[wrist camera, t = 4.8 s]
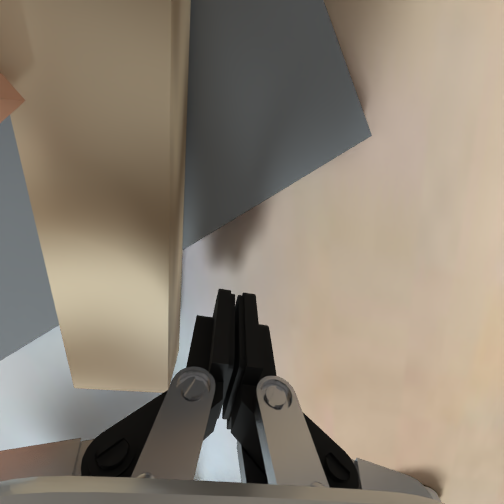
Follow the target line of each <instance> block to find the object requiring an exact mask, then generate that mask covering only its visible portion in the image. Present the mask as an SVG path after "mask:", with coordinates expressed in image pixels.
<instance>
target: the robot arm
mask: <svg viewBox="0 0 504 504" xmlns="http://www.w3.org/2000/svg"><path fill="white" fill-rule="evenodd" d="M222 405H223V413H222V418H223V419H227V429H231V433H232V434H233V436H234V437H235V438H236V439H237V452H238V460H239V468H240V475H241V483H235V482H215V481H194V480H193V479H194V475H195V471H196V466H197V462H198V458H199V454H200V450H201V446H202V442H203V440H204V439H206V438H207V437H208V436H209V435H210V434H211V433H212V432H213V431H214V428H215V424H216V421H217V419H218V418H219V415H220V412H221V408H222ZM0 504H445V503H442V502H439V501H436V500H434V499H433V498H432V496H431V494H430V493H429V492H428V490H427V489H426V488H425V487H424V486H423V485H422V484H421V483H420V482H419V481H418V480H416V479H414V478H413V477H411V476H408V475H406V474H403V473H400V472H397V471H394V470H391V469H388V468H385V467H383V466H380V465H377V464H374V463H371V462H368V461H365V460H362V459H359V458H356V460H353V459H351V458H350V457H349V456H348V455H347V454H346V452H345V451H344V450H343V449H342V448H340V447H339V446H338V445H337V444H336V443H335V442H334V441H333V440H332V439H331V438H330V437H329V436H328V435H327V434H325V433H324V432H323V431H322V430H321V429H320V428H319V427H318V426H317V425H316V424H315V423H314V422H313V421H312V420H310V419H309V418H308V417H307V416H306V415H305V414H304V413H303V412H302V409H301V407H300V404H299V401H298V398H297V396H296V393H295V391H294V389H293V387H292V386H291V385H290V384H289V383H288V382H287V381H286V380H284V379H283V378H280V377H278V376H276V370H275V363H274V357H273V350H272V344H271V338H270V331H269V327H268V326H266V325H260V324H259V323H258V314H257V304H256V296H255V294H249V293H243V294H242V296H241V295H238V297H237V301H236V305H235V294H231V290H224V289H219V290H218V295H217V299H216V304H215V309H214V313H213V318H212V317H205V316H198V315H197V317H196V322H195V327H194V332H193V337H192V342H191V347H190V352H189V357H188V362H187V367H186V368H185V369H182V370H180V371H179V372H178V373H177V374H176V375H175V377H174V378H173V380H172V382H171V384H170V387H169V389H168V390H167V391H165V392H164V393H162V394H161V395H159V396H158V397H156V398H155V399H153V400H152V401H150V402H149V403H147V404H146V405H144V406H142V407H141V408H139V409H138V410H136V411H135V412H133V413H132V414H130V415H129V416H127V417H126V418H124V419H123V420H121V421H120V422H118V423H116V424H115V425H113V426H112V427H110V428H109V429H107V430H106V431H104V432H103V433H101V434H100V435H99V436H98V437H96V438H95V439H92V440H86V441H81V438H78V439H72V440H65V441H59V442H53V443H47V444H40V445H34V446H28V447H22V448H16V449H9V450H3V451H0Z"/></svg>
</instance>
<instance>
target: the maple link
mask: <svg viewBox="0 0 504 504" xmlns="http://www.w3.org/2000/svg"><path fill="white" fill-rule="evenodd" d="M190 8H191V0H0V72H1V73H2V75H3V76H4V77H5V78H6V79H7V80H8V81H9V82H10V84H11V85H12V86H13V87H14V88H15V89H16V90H17V91H18V93H19V94H20V95H21V96H22V97H23V98H24V99H25V100H26V101H25V102H24V103H22V104H21V105H20V106H19V107H18V108H17V109H16V110H14V111H13V112H12V113H11V114H10V117H11V121H12V126H13V130H14V134H15V138H16V143H17V147H18V151H19V155H20V160H21V164H22V168H23V172H24V177H25V181H26V185H27V189H28V194H29V198H30V202H31V206H32V211H33V215H34V219H35V223H36V228H37V232H38V236H39V240H40V245H41V249H42V253H43V257H44V262H45V266H46V270H47V274H48V279H49V283H50V287H51V291H52V296H53V300H54V304H55V308H56V313H57V317H58V321H59V325H60V330H61V334H62V338H63V342H64V347H65V351H66V355H67V359H68V364H69V368H70V372H71V376H72V381H73V385H74V388H81V389H101V390H120V391H139V392H159V393H164V392H165V391H167V390H168V389H169V386H170V382H171V378H172V375H173V371H174V367H175V363H176V359H177V355H178V351H179V332H180V302H181V273H182V243H183V214H184V185H185V155H186V126H187V96H188V67H189V38H190Z"/></svg>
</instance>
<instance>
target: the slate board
mask: <svg viewBox="0 0 504 504" xmlns="http://www.w3.org/2000/svg"><path fill="white" fill-rule="evenodd" d="M370 136H372V135H371V132H370V129H369V127H368V124H367V121H366V118H365V115H364V113H363V110H362V107H361V104H360V102H359V99H358V96H357V93H356V90H355V88H354V85H353V82H352V79H351V76H350V74H349V71H348V68H347V65H346V62H345V60H344V57H343V54H342V51H341V48H340V46H339V43H338V40H337V37H336V34H335V32H334V29H333V26H332V23H331V20H330V18H329V15H328V12H327V9H326V6H325V4H324V1H323V0H191V8H190V38H189V67H188V96H187V126H186V155H185V185H184V214H183V243H182V250H184V249H185V248H187V247H189V246H190V245H192V244H194V243H195V242H197V241H198V240H200V239H202V238H203V237H205V236H207V235H208V234H210V233H212V232H213V231H215V230H217V229H218V228H220V227H222V226H223V225H225V224H227V223H228V222H230V221H231V220H233V219H235V218H236V217H238V216H240V215H241V214H243V213H245V212H246V211H248V210H250V209H251V208H253V207H255V206H256V205H258V204H260V203H261V202H263V201H265V200H266V199H268V198H269V197H271V196H273V195H274V194H276V193H278V192H279V191H281V190H283V189H284V188H286V187H288V186H289V185H291V184H293V183H294V182H296V181H298V180H299V179H301V178H302V177H304V176H306V175H307V174H309V173H311V172H312V171H314V170H316V169H317V168H319V167H321V166H322V165H324V164H326V163H327V162H329V161H331V160H332V159H334V158H335V157H337V156H339V155H340V154H342V153H344V152H345V151H347V150H349V149H350V148H352V147H354V146H355V145H357V144H359V143H360V142H362V141H364V140H365V139H367V138H368V137H370ZM58 325H59V321H58V317H57V313H56V308H55V304H54V300H53V296H52V291H51V287H50V283H49V279H48V274H47V270H46V266H45V262H44V257H43V253H42V249H41V245H40V240H39V236H38V232H37V228H36V223H35V219H34V215H33V211H32V206H31V202H30V198H29V194H28V189H27V185H26V181H25V177H24V172H23V168H22V164H21V160H20V155H19V151H18V147H17V143H16V138H15V134H14V130H13V126H12V121H11V117H10V115H9V116H8V117H7V118H5V119H4V120H3V121H2V122H1V123H0V360H2V359H4V358H5V357H7V356H9V355H10V354H12V353H14V352H15V351H17V350H19V349H20V348H22V347H24V346H25V345H27V344H29V343H30V342H32V341H33V340H35V339H37V338H38V337H40V336H42V335H43V334H45V333H47V332H48V331H50V330H52V329H53V328H55V327H57V326H58Z"/></svg>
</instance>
